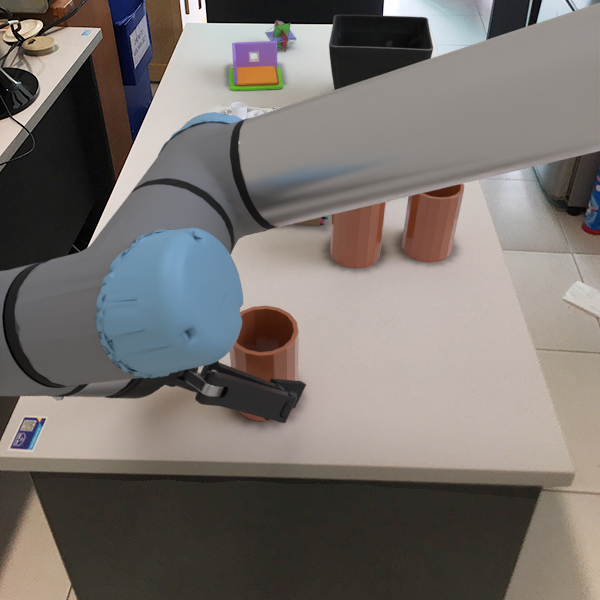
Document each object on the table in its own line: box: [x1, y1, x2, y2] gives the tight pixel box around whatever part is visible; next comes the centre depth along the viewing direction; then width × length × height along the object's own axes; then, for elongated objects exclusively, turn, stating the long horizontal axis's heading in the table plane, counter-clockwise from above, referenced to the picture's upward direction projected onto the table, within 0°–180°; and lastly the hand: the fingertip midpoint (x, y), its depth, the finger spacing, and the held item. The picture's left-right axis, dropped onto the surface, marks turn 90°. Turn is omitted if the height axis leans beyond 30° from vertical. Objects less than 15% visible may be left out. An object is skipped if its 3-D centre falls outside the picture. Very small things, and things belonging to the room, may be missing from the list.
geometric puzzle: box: [264, 19, 297, 53], centre depth 156 cm, size 7×7×8 cm
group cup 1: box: [329, 202, 387, 270], centre depth 91 cm, size 7×7×12 cm
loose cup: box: [229, 305, 299, 423], centre depth 70 cm, size 7×7×12 cm
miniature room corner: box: [228, 40, 284, 92], centre depth 142 cm, size 12×12×7 cm
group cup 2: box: [400, 183, 465, 263], centre depth 92 cm, size 7×7×12 cm
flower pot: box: [328, 14, 434, 91], centre depth 126 cm, size 19×19×17 cm
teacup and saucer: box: [225, 101, 264, 120], centre depth 126 cm, size 9×8×4 cm
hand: (246, 364), depth 67 cm, fingers open, 13 cm apart
